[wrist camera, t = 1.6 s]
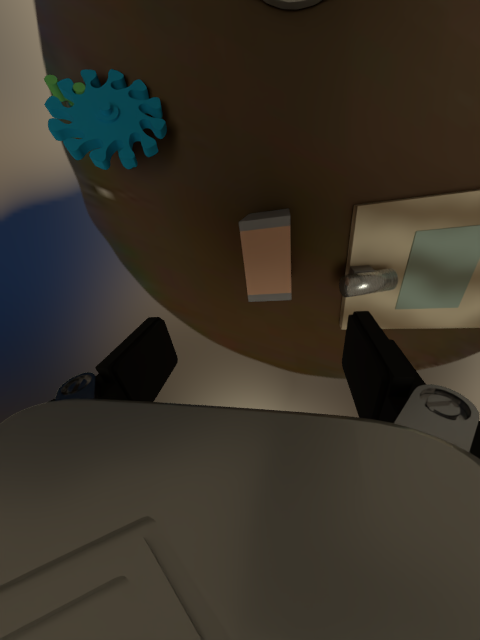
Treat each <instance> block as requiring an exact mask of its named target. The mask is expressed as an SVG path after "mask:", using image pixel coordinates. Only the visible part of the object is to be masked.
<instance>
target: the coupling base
mask: <svg viewBox="0 0 480 640" xmlns="http://www.w3.org/2000/svg"><path fill="white" fill-rule="evenodd" d="M388 268H392V269H394V270H395V271H396V273H397V275H398V284H397V286H396V288H395V289H393V290H390V291H384V292H378V293H371V294H365V295H359V296H352V297H342V305H341V313H340V321H339V324H340V327H341V329H347V322H348V316H349V315H353V312H354V311H369V312H370V313H371V315H372V316H373V318H374V319H375V320H376V322H377V323H378V325H379V326H380V328H381V329H419V328H480V189H475V190H467V191H459V192H451V193H444V194H436V195H428V196H420V197H412V198H405V199H397V200H389V201H381V202H374V203H366V204H358V205H354V207H353V215H352V223H351V231H350V239H349V248H348V256H347V264H346V272H345V275H350V274H356V273H363V272H371V271H375V270H382V269H388Z"/></svg>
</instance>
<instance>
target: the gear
mask: <svg viewBox="0 0 480 640" xmlns="http://www.w3.org/2000/svg"><path fill="white" fill-rule="evenodd" d="M81 75H82V78H83V80H84V82H85V84H86V87H85V85H84V84H83V83H79V82H78V83H75V84H73V82H72V80H71V79H69V78H67V79H63V80H61V81H58V79H57V78H56V77H55V76H54V75H47V76H46V77H45V78H44V80H45V82H46V84H47V86H48V87H49V89H50V91H51V92H52V94H53V96H51V97H49V98H48V99H47V101H46V103H45V106H46V108H47V109H48V110H49V112H50V114H51V115H52V116H53V117H54V118H52V119H49V121H48V127H49V130H50V132H51V133H52V135H53V136H54V138H55V139H56V140H58V141H63V140H64V141H63V143H64V145H65V147H66V148H67V149H68V151H69V152H70V154H71V155H72V156H73V157H74V158H75V159H76V160H80V159H82V158H83V157H84V156H85V155H86V153H88V152H89V151H91V150H93V149H95V150H93V151H91V152H90V158H91V160H92V161H93V163H94V165H96V166H97V167H99V168H102V169H105V170H107V169H108V168H109V167H110V159H111V157H112V155H113V154H114V153H115V152H116V151H118V153H119V158H120V160H121V162H122V164H123V166H124V167H125V168H127V169H132V168H133V167H137V160H136V157H135V155H134V152H133V151H132V147H133V143H134V142H136V141H141V144H142V148H143V151H144V153H145V155H146V156H148V157H151V156H153V155H155V154H156V153H158V148H157V144H156V141H155V140H154V139H153V138H151V137H149V136H148V135H146V134H145V133H144V132H143V129H145V128H149V129H151V130H152V131H153V133H154V135H155V136H156V137H157V138H159V139H163V138H164V136H165V135H166V132H167V128H166V122H165V121H164V120H163V119H161V118H162V116H163V113H162V108H161V103H160V99H159V98H156V97H153V98H150V99H149V95H148V91H147V87H146V85H145V84H144V83H143V82H142V81H141V80H135V81H134V82H133V83H132V84H131V85H130V86H129V87H127V85H126V82H125V79H124V75H123V74H122V73H120V72H119V71H116V70H113V69H111V70H110V71H109V72H108V80H107V82H106V83H105V84H104V85H103V86H102V87H101V84H100V81H99V79H98V76H97V74H96V72H95V71H94V70H82V71H81ZM126 87H127V88H126ZM63 101H66V104H67V106H68V108H66V107H64V106H63V105H62V103H61V102H63ZM144 113H148V114H150V115H152V116H153V117H155V118H153V117H149V116H147V115H145V114H144ZM55 118H57V119H55ZM58 119H66V120H69V121H71V122H73V123H71V124H64V123H63V122H61V121H60V120H58ZM73 138H82V139H73ZM96 148H99V149H96Z"/></svg>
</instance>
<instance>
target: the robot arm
mask: <svg viewBox="0 0 480 640" xmlns="http://www.w3.org/2000/svg"><path fill="white" fill-rule="evenodd" d="M263 1H265V2H266V3H267V4H270V5H273V6H275V7H278V8H281V9H296V10H297V9H301V8H305V7H309V6H313V5H315V4H317V3H319V2H320V1H322V0H263ZM177 360H178V359H177V355H176V352H175V349H174V347H173V344H172V341H171V338H170V335H169V333H168V330H167V327H166V324H165V322H164V320H162V319H161V318H159V317H151V318H148V319H146V320H145V321H144V322H143V323H142V324H141V325H140V326H139V327H138V328H137V329H136V330H135V331H134V332H133V333H132V334H130V335H129V336H128V337H127V338H126V339H125V340H124V341H123V342H122V343H121V344H120V345H119V346H118V347H117V348H116V349H115V350H114V351H112V352H111V353H110V355H108V356H107V357H106V358H105V359H104V360H103V361H102V362H101V363H100V364H99V365H97V366H96V370H97V371H98V373H99V374H98V375H97V376H95V374H93V373H90V372H87V373H82V374H79V375H77V376H74V377H72V378H71V379H69V380H68V381H66V382H65V383H64V384H62V386H61V387H60V388H59V389H58V391H57V393H56V397H55V399H53V400H51V401H49V402H47V403H43V404H39V405H36V406H33V407H30V408H27V409H25V410H22V411H20V412H18V413H15V414H14V415H12V416H11V417H9V418H8V419H6V420H5V421H3V422H2V423H1V424H0V640H480V421H479V412H478V410H477V409H476V407H475V406H474V405H473V404H472V403H471V402H470V401H469V400H468V399H467V398H465V397H464V396H462V395H461V394H459V393H457V392H455V391H453V390H451V389H449V388H445V387H442V386H438V385H432V384H431V385H426V384H425V383H424V381H423V380H422V378H421V377H420V376H419V374H418V373H417V372H416V370H415V369H414V368H413V366H412V365H411V363H410V362H409V361H408V359H407V358H406V357H405V355H404V354H403V352H402V351H401V350H400V348H399V347H398V346H397V344H396V343H395V342H394V341H393V340H389V339H388V338H387V336H386V335H385V333H384V332H383V330H382V329H381V328H380V326H379V325H378V323H377V322H376V320H375V319H374V318H373V316H372V315H371V313H370V312H369V311H354V312H353V315H349V316H348V322H347V329H346V336H345V343H344V350H343V357H342V366H343V370H344V373H345V376H346V379H347V382H348V385H349V388H350V390H351V393H352V397H353V400H354V403H355V406H356V409H357V412H358V415H359V418H357V417H349V416H338V415H328V414H316V413H304V412H290V411H277V410H264V409H249V408H236V407H221V406H206V405H191V404H176V403H159V402H153V401H154V400H155V398H156V397H157V395H158V393H159V392H160V390H161V389H162V387H163V385H164V384H165V382H166V380H167V379H168V377H169V375H170V374H171V372H172V371H173V369H174V367H175V366H176V364H177Z"/></svg>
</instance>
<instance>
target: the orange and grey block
mask: <svg viewBox="0 0 480 640" xmlns="http://www.w3.org/2000/svg"><path fill="white" fill-rule="evenodd" d="M239 228H240V236H241V244H242V252H243V260H244V268H245V276H246V284H247V292H248V300H249V302H254V301H278V300H291V237H290V212H289V209H281V210H274V211H266V212H259V213H251V214H248V215H247V216H246V217H245V218H243V219H242V220H241V221H239Z"/></svg>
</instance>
